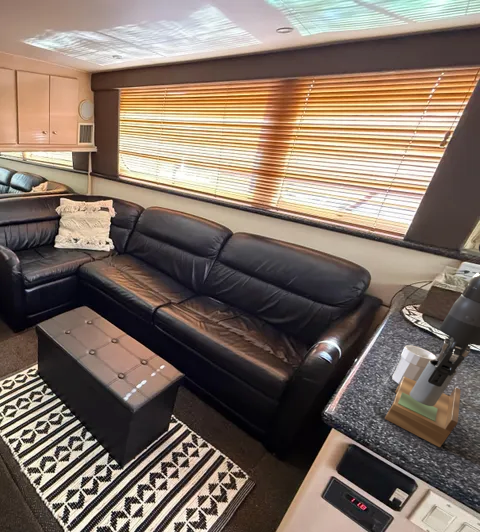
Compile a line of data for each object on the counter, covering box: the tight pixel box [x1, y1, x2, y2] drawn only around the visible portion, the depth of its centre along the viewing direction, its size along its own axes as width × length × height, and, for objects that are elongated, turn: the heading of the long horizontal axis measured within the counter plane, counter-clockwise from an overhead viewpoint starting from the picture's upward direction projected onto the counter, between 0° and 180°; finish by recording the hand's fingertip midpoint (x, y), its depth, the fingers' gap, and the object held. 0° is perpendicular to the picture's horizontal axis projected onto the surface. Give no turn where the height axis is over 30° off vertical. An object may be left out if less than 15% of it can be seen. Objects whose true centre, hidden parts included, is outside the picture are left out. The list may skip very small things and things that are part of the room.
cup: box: [391, 344, 438, 385], centre depth 94 cm, size 7×7×11 cm
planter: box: [410, 359, 457, 406], centre depth 77 cm, size 4×4×10 cm
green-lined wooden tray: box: [384, 377, 462, 448], centre depth 82 cm, size 18×10×8 cm, turn 129°
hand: (434, 379), depth 76 cm, fingers closed on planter, 4 cm apart
